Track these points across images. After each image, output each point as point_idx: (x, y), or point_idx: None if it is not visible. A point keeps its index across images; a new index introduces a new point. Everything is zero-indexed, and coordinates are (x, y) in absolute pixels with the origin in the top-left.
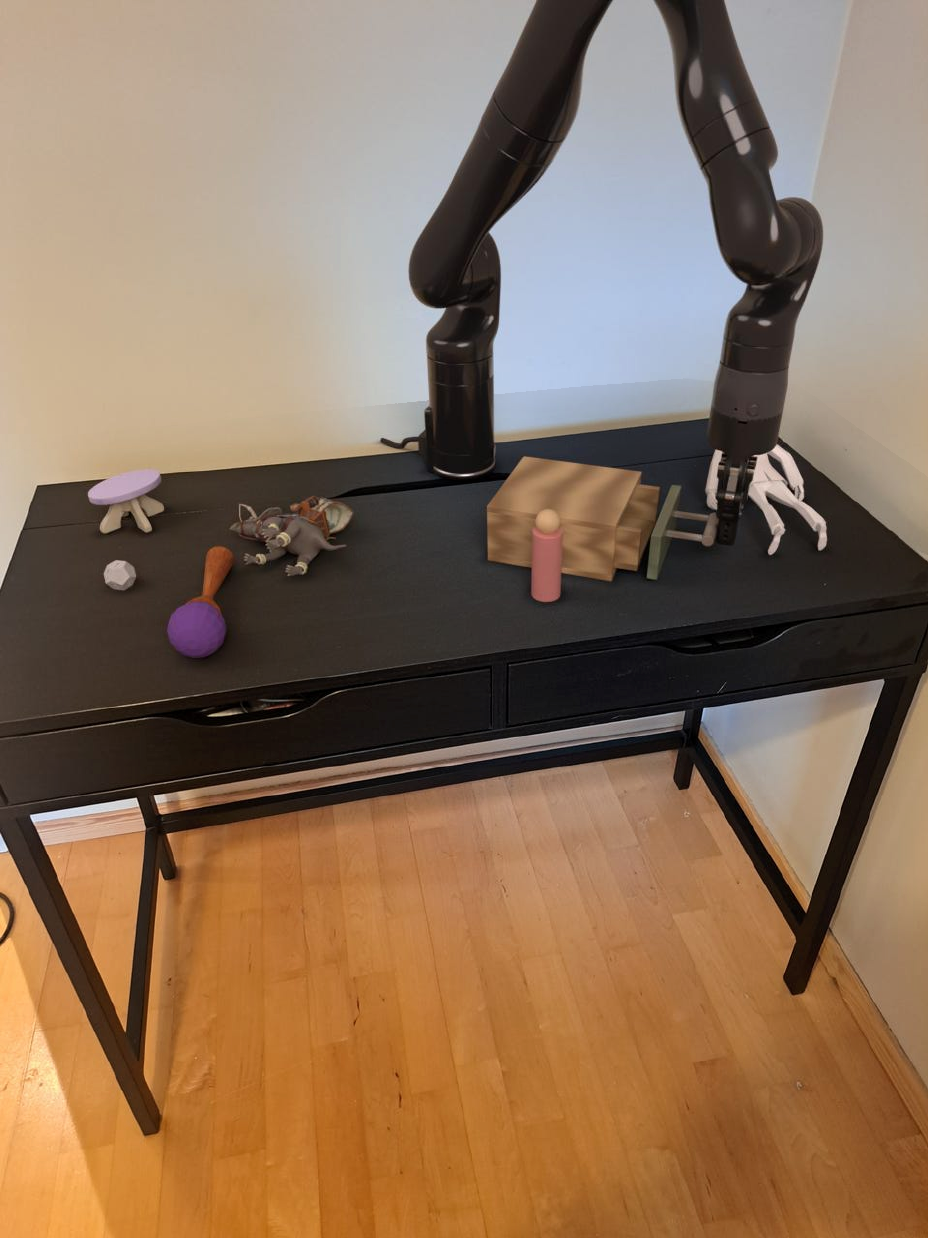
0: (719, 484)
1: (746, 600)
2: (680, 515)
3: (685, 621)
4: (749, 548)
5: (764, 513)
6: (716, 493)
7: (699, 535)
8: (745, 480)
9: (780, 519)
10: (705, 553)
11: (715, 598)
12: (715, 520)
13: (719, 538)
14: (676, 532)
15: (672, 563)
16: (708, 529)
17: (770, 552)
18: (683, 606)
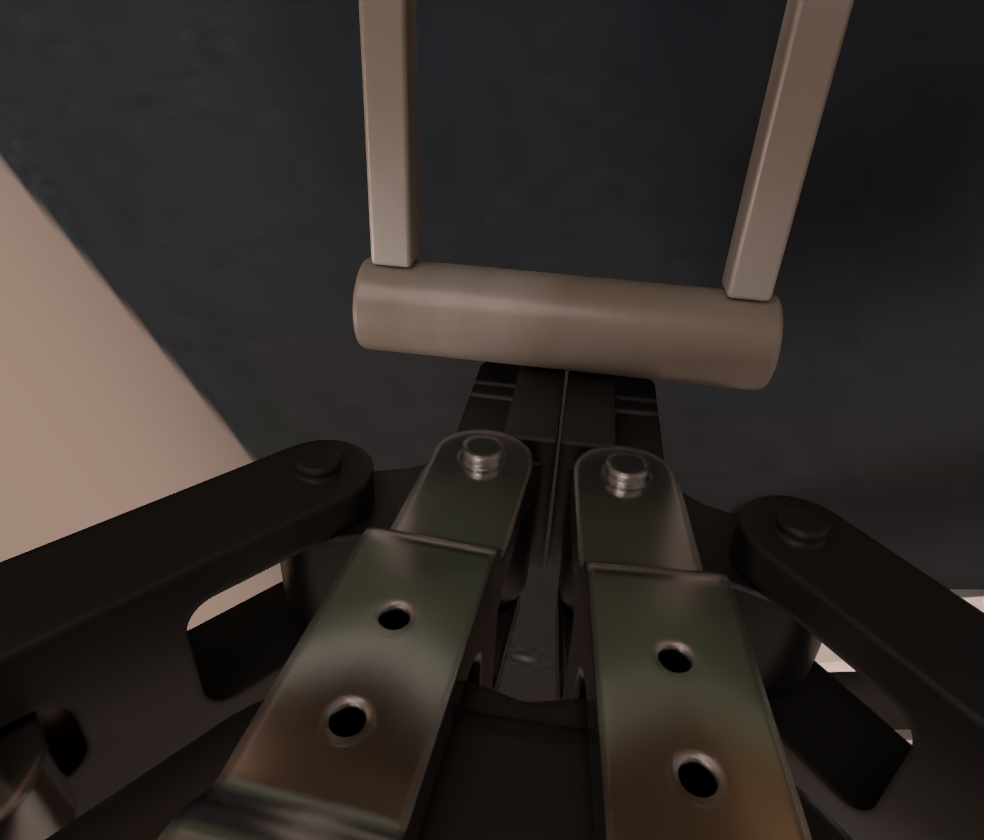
0: (276, 709)
1: (312, 417)
2: (791, 18)
3: (20, 165)
4: (789, 440)
5: (966, 598)
6: (342, 570)
7: (395, 244)
8: (836, 816)
9: (841, 670)
10: (710, 220)
11: (271, 293)
12: (635, 364)
13: (479, 371)
14: (377, 26)
15: (549, 14)
16: (460, 317)
17: None
18: (131, 142)
